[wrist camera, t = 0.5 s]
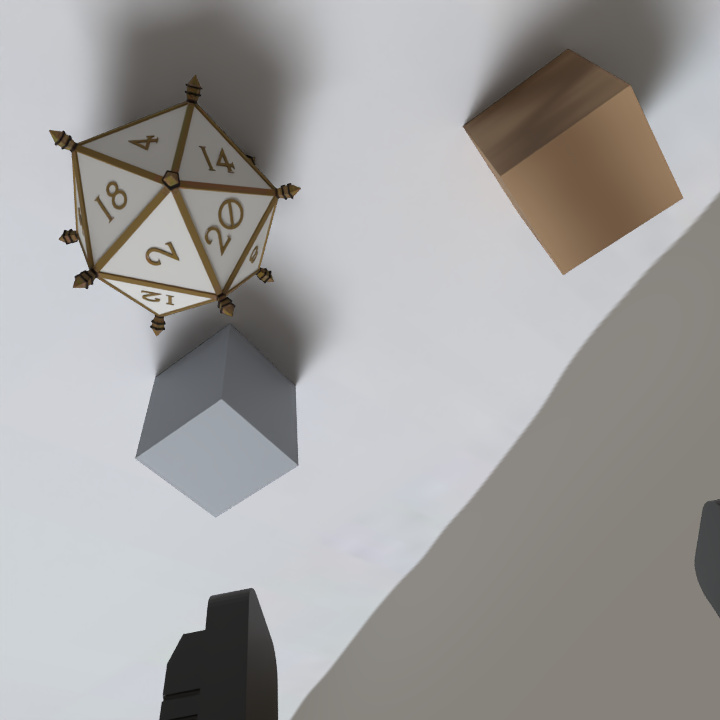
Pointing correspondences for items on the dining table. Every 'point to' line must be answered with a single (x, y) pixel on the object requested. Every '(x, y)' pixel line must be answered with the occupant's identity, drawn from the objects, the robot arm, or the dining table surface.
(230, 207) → the game die
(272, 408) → the slate block
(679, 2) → the dining table surface
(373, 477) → the dining table surface
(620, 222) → the walnut block
